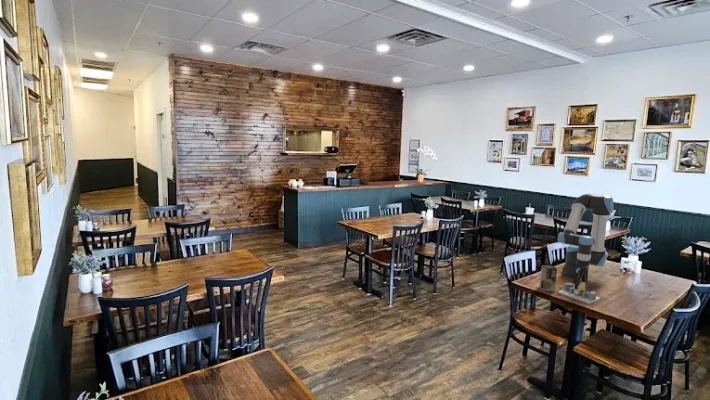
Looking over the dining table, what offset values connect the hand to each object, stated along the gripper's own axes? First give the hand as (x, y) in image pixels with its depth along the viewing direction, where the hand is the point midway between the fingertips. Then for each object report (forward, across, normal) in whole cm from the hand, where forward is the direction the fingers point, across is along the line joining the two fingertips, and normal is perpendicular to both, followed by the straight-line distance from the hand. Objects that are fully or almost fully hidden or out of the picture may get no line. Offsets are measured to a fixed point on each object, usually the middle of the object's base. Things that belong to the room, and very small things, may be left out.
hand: (579, 292), depth 258 cm
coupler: (+1, 0, 0) cm, 1 cm away
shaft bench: (+3, 0, 0) cm, 3 cm away
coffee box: (+3, -7, +18) cm, 20 cm away
